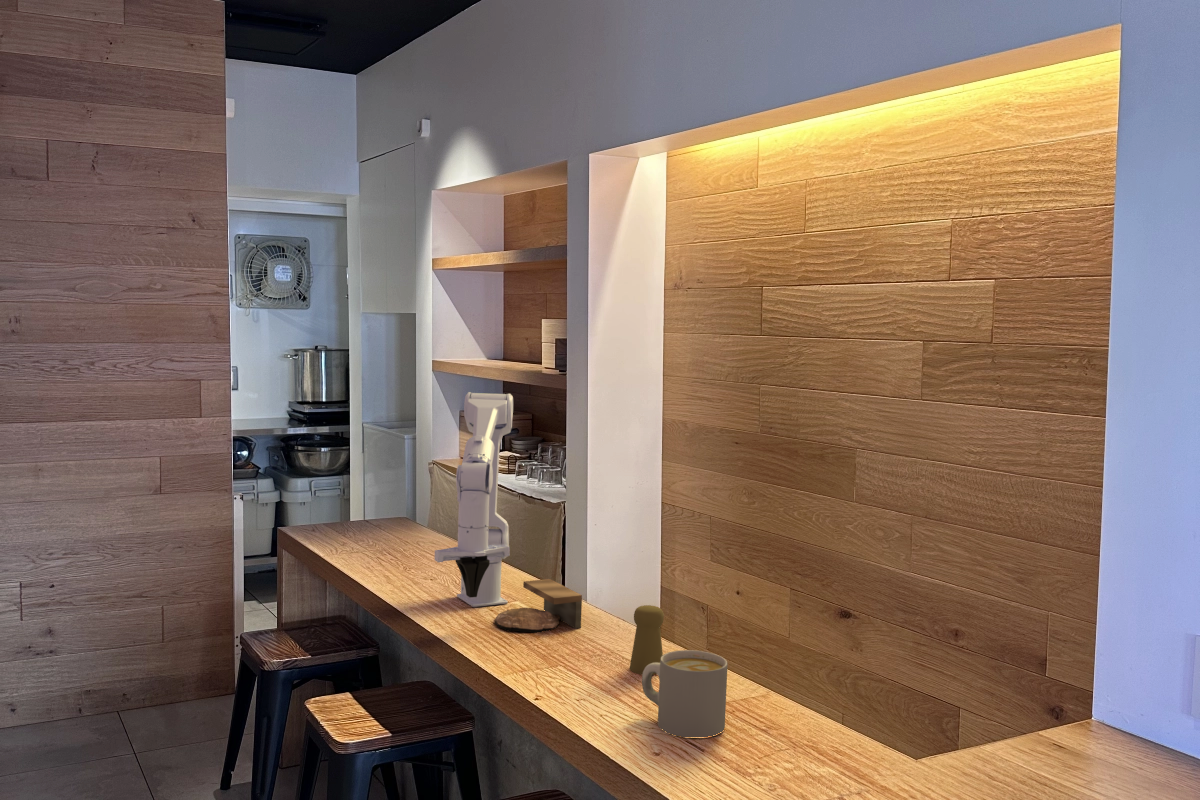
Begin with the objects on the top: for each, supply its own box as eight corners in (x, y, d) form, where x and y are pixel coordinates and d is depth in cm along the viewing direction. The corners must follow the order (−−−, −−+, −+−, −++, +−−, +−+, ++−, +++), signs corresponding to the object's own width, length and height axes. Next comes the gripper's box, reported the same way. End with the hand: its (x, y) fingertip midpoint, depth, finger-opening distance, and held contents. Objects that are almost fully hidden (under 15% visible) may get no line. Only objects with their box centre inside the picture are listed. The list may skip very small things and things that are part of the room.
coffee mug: (738, 727, 156) (741, 661, 155) (695, 745, 148) (698, 676, 148) (670, 702, 165) (672, 640, 164) (627, 717, 158) (629, 653, 157)
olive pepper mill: (622, 667, 181) (624, 605, 180) (647, 661, 185) (650, 600, 184) (645, 677, 176) (648, 613, 176) (671, 670, 180) (674, 608, 179)
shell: (556, 636, 199) (556, 618, 198) (489, 633, 199) (490, 615, 199) (561, 619, 210) (561, 602, 210) (498, 616, 211) (499, 599, 211)
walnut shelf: (522, 612, 213) (523, 581, 212) (548, 609, 216) (549, 578, 215) (553, 631, 201) (554, 598, 200) (580, 628, 204) (582, 595, 203)
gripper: (444, 532, 190) (443, 605, 191) (517, 526, 197) (515, 597, 198) (431, 524, 196) (429, 595, 197) (501, 519, 204) (500, 588, 205)
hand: (471, 596), depth 198 cm, fingers closed
